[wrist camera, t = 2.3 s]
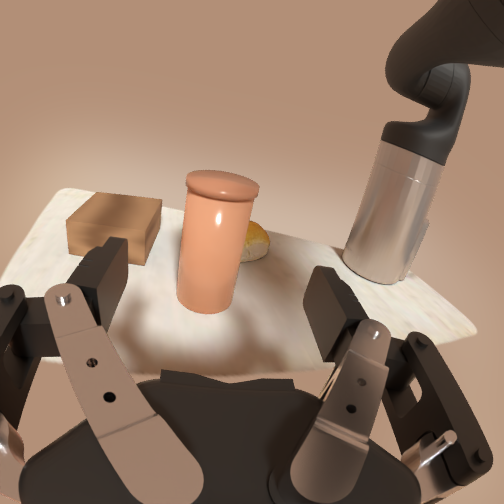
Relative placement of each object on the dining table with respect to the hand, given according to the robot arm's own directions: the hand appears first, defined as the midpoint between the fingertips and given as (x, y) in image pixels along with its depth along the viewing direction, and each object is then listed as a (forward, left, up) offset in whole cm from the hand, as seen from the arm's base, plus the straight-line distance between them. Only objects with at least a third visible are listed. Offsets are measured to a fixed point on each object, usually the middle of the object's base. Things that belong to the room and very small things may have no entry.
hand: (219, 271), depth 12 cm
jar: (0, -12, -10) cm, 15 cm away
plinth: (+11, -19, -10) cm, 25 cm away
